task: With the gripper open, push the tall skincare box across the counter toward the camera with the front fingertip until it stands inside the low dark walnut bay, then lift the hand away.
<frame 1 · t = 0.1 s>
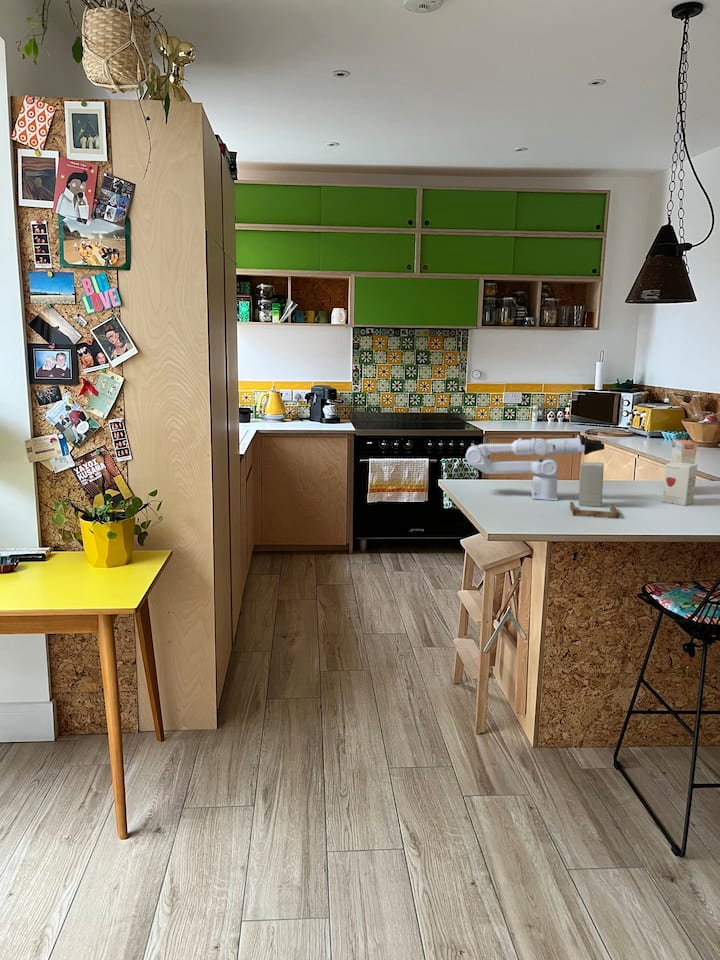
hand: (602, 445, 266), 22 cm above the table, tool horizontal, fingers open, 7 cm apart
walnut bay: (593, 512, 251), on the table
supplement box: (677, 502, 271), on the table
cracker box: (679, 491, 293), on the table
skincare box: (589, 505, 263), on the table
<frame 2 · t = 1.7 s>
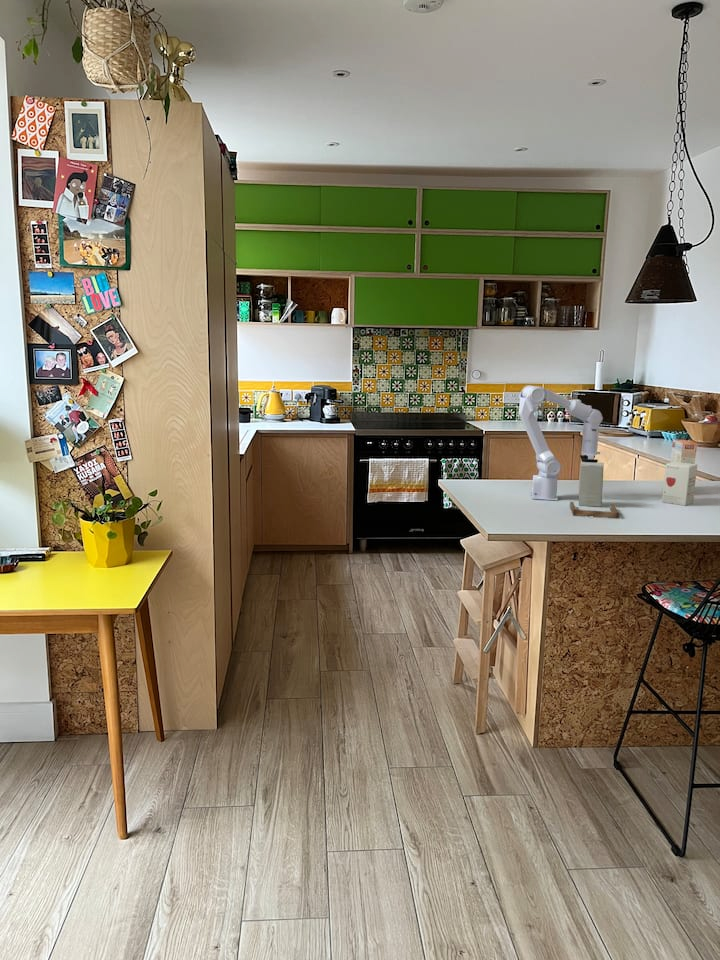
hand: (587, 475, 274), 9 cm above the table, tool pointing down, fingers open, 7 cm apart
nothing on the table moved.
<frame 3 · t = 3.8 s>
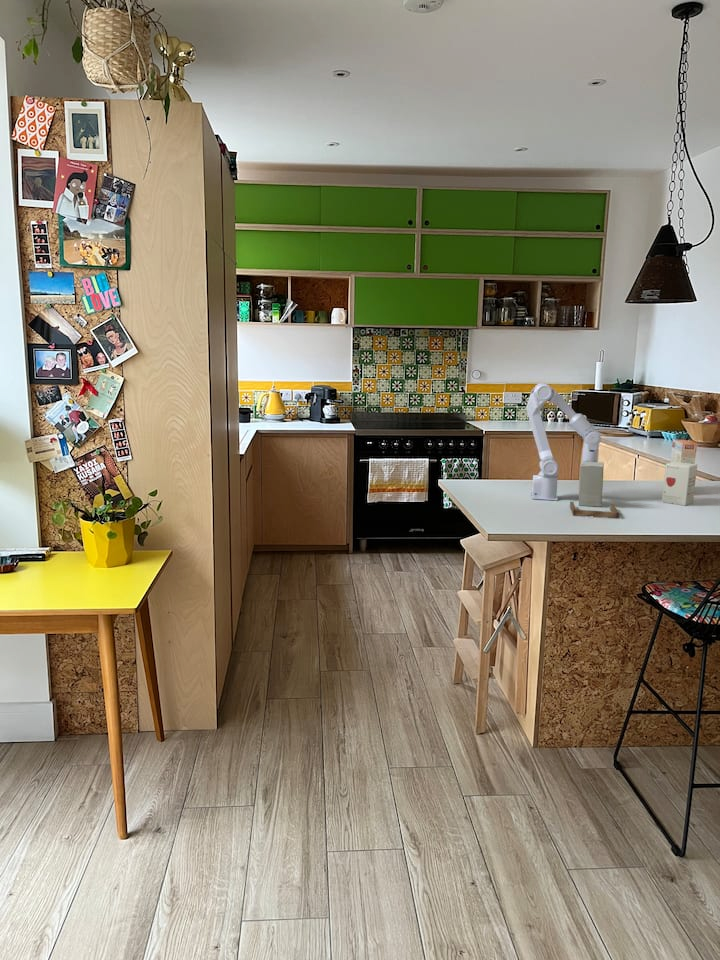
hand: (587, 496, 271), 2 cm above the table, tool pointing down, fingers open, 6 cm apart
skincare box: (589, 505, 263), on the table, touching gripper
everything else where it was.
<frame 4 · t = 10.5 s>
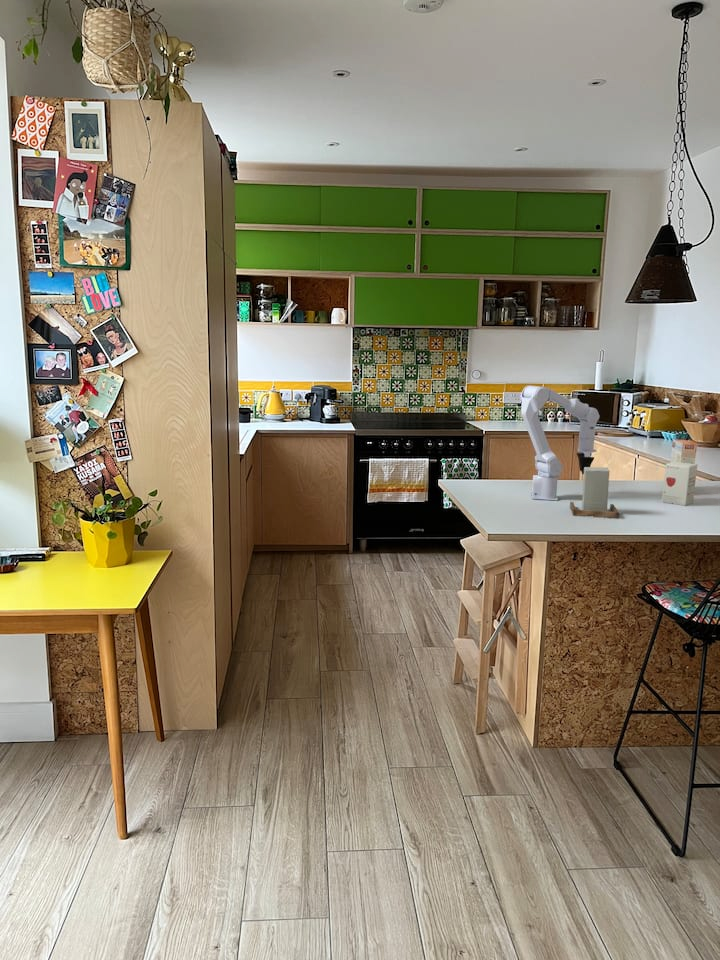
hand: (583, 472, 277), 9 cm above the table, tool pointing down, fingers open, 7 cm apart
skincare box: (593, 512, 252), on the table
everything else where it was.
at the end: skincare box inside the target area on the walnut bay (2.8 cm from its centre), point 0.0 cm above the walnut bay's base; skincare box tilted 0°; skincare box moved 11.5 cm from its start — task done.
